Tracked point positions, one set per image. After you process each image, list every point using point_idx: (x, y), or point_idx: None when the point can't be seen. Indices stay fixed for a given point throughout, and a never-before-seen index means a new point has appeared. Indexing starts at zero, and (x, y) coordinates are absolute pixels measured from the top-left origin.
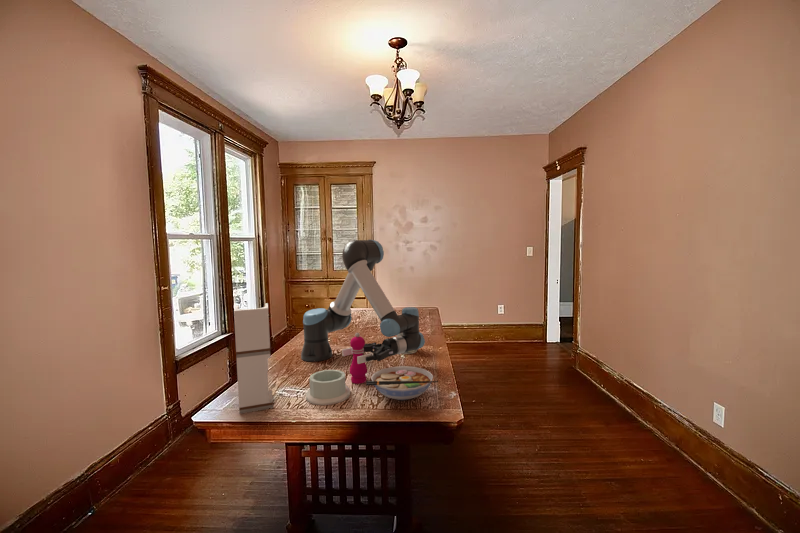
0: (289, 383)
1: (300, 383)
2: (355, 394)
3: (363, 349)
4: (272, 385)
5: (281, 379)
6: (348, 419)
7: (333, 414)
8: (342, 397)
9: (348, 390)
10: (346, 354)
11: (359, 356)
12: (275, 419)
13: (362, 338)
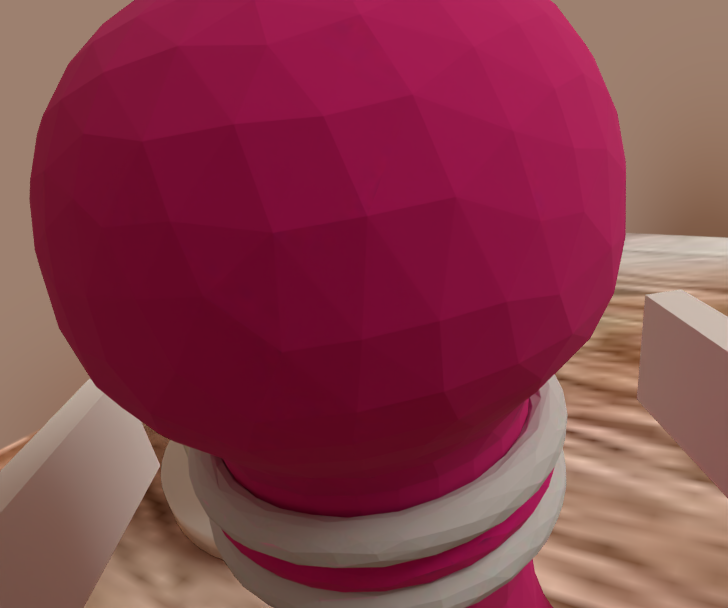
0: (628, 328)
1: (609, 360)
2: (164, 591)
3: (202, 502)
4: (619, 289)
5: (715, 307)
6: (5, 451)
7: None
8: (163, 460)
9: (205, 519)
10: (682, 427)
11: (87, 397)
12: None
13: (75, 56)
